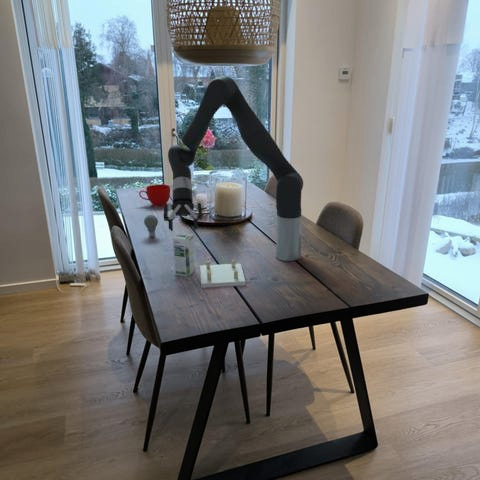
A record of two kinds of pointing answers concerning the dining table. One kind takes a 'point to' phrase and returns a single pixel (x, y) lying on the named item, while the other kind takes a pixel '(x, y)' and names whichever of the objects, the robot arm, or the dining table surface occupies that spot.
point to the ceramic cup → (157, 194)
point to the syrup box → (184, 254)
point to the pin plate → (221, 275)
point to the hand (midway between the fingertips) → (183, 229)
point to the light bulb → (151, 224)
